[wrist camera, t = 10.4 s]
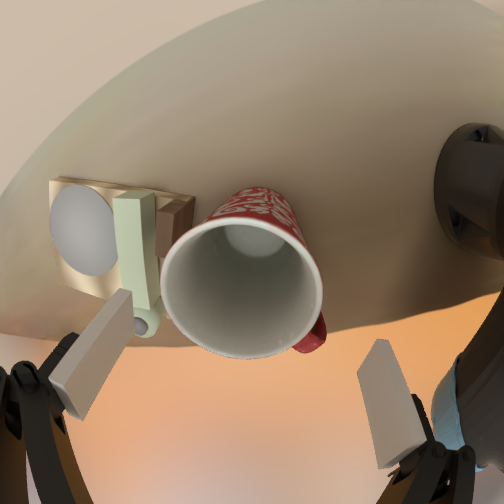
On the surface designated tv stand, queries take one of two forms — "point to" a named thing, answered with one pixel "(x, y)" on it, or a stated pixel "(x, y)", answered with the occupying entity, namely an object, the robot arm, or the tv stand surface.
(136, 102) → the tv stand surface
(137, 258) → the leg
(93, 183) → the board
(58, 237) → the seat pad
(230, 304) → the mug
